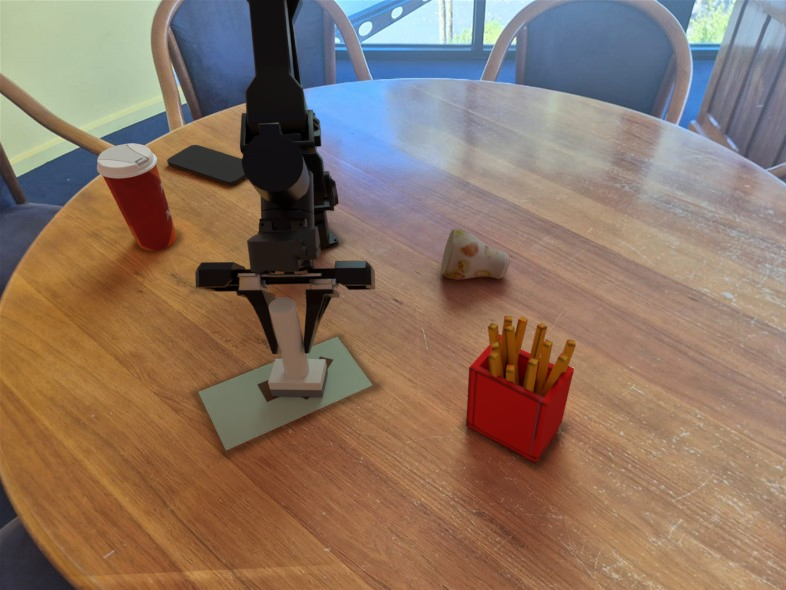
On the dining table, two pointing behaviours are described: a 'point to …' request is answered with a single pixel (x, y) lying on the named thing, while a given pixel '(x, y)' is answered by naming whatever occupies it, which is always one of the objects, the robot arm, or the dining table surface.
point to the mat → (266, 412)
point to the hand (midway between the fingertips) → (291, 353)
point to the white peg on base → (293, 356)
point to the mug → (471, 258)
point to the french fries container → (519, 389)
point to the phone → (209, 164)
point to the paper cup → (138, 194)
